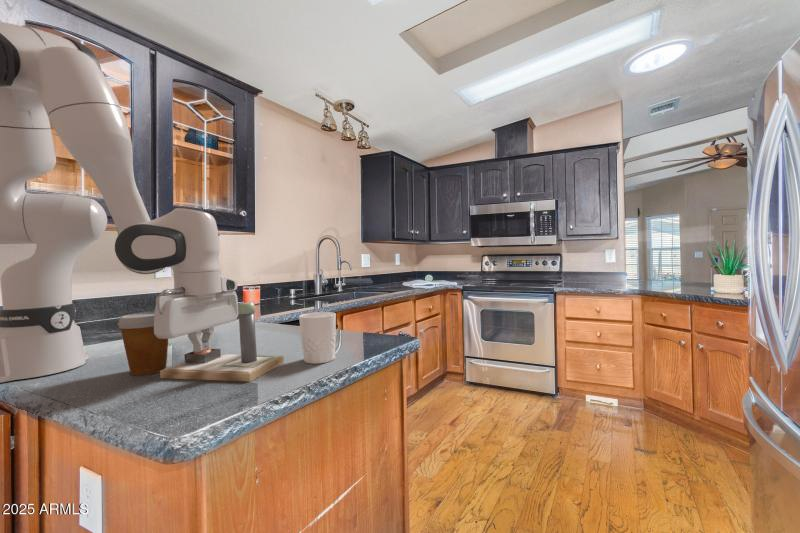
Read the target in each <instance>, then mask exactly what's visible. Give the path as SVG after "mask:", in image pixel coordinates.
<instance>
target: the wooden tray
mask: <svg viewBox="0 0 800 533" xmlns="http://www.w3.org/2000/svg"><path fill="white" fill-rule="evenodd" d="M210 349H211V352H208V353H206V354H194V350H193V351H190V352H188V353H187V352H186V353H184V361H182V362H179V363H176V364H173V365H170V366H168V367H166V368H165V369H163V370H160V372H159V376H160V379H173V380H174V379H176V380H199V381H200V380H203V381H223V382H224V381H225V382H252V381H254V380H256V379H258V378H259V377H262V376H263V375H265V374H267V373H268V372H270V371H272V370H273V369H275V368H277V367H279V366H281V365H282V364H284V363H285V359H284V358H285V356H284V355H278V354H277V355H275V354H274V355H270V354H267V355H266V354H257V361H255V362H252V363H242V362H241V354H229V353H228V354H226V353H225V354H222V353H221V348H210ZM266 372H267V373H266ZM257 377H258V378H257Z"/></svg>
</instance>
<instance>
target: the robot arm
mask: <svg viewBox="0 0 800 533" xmlns="http://www.w3.org/2000/svg"><path fill="white" fill-rule="evenodd" d="M51 127H53V130H54V131H55V133H56V134H57V136H58V138H59V139H60V141H61V142H62V144H63V146H64V147H65V148H66V150H67V151H68V153H69V154H70V155H71V157H73V159H74V160H75V162H76V163H77V164H78V165H79V166H80V167H81V169H82V170H84V172H85V173H86V174H87V176H88V177H89V178H90V179H91V180H92V182H93V183H94V185H95V186H96V188H97V189H98V191H99V192H100V194H101V195H102V198H103V200H104V201H103V202H104V203H105V205H106V207H107V210H108V211H109V214H110V216H111V218H112V220H113V222H114V225H115V227H116V232H117V237H116V239H115V242H114V252H115V255H116V257H117V259H118V260H119V262H120V264H122V266H124V268H126V269H127V270H129V271H131V272H133V273H136V274H140V275H153V274H157V273H159V272H161V271H163V270H164V269H165V268H171V269H172V270H173V271H172V272H173V288H172V289H168V288H167V289H164V290H161V293H159V294H158V296H156V298H155V307H154V312H155V315H154V334H155V335H156V337H157V338H159V339H168V340H169V339H176V338H178V337H179V338H180V337H182V336H186V335H187V337H188V339H189V340H190V342H191V344H192V346H193V351H194V352H202V351H204V350H207V349H211V348H212V347H211V340H212V337H213V336H214V333H215V329H214V328H215V327H218V326H222V325H225V324H229V323H232V322H235V321H237V319H238V318H239V314H238V304H239V301H238V300H239V298H238V295H237V292H236V291H237V289H238V282H237V281H236V280H235V279H231V278H229V277H226V276H224V275H222V269H221V266H220V262H219V255H220V252H221V250H220V237H219V236H220V235H219V229H218V226H217V221H216V219H215V217H214V216H213V215H212V214H211V213H209V212H208V211H205V210H202V209H198V208H194V207H193V208H192V207H182V206H181V207H175V208H174V209H173V210H172V211H169V212H168V213H167V214H164V215H161V216H160V217H157V218H154V219H151V218H150V216H149V214H148V211H147V209H146V206H145V204H144V200H143V198H142V196H141V195H140V192H139V189H138V186H137V184H136V179H135V173H134V157H133V155H134V154H133V152H134V151H133V144H132V143H133V142H132V136H131V134H130V128H129V126H128V122H127V119H126V116H125V114H124V111H123V109H122V107H121V104H120V103H119V100H118V98H117V96H116V94H115V93H114V89H113V88H112V86H111V85H110V83H109V81H108V79H107V78H106V76H105V75H104V73H103V72H102V67H101V65H100V62H99V59H98V58H97V56H96V54H95V53H94V51H92V49H91V48H89V47H88V46H86V45H84V44H83V43H81V42H80V41H77V40H75V39H72V38H70V37H68V36H67V37H66V36H60V35H58V34H54V33H52V32H48V31H45V30H42V29H38V28H35V27H31V26H27V25H18V24H15V23H9V22H2V21H0V245H23V244H24V245H26V244H27V245H28V244H30V245H31V244H34V245H36V249H35V251H34V253H33V254H32V255H31V256H30V257H28V258H25V259H23V260H21V261H18V262H16V263H13V264H12V265H9V266H8V267H7V268H6V269H5V270H3V272H2V274H1V275H0V290H1V291H0V292H1V301H2V304H1V305H2V309H0V384H1V383H6V382H11V381H17V380H24V379H32V378H38V377H39V378H40V377H44V376H48V375H53V374H58V373H62V372H65V371H69V370H72V369H75V368H78V367H81V366H83V365H84V364H86V363H87V360H88V359H90V354H89V353H85V352H86V351H85V348H84V342H83V338H82V337H83V336H82V332H81V327H80V326H79V325H78V324H76V322H75V319H76V318H77V314H76V313H77V309H76V305H75V303H73V294H72V292H73V291H72V282H73V281H72V280H73V279H72V278H73V277H72V276H73V270H74V267H75V263H76V261H77V259H78V258H79V256H80V255H81V253H83V251H84V250H85V248H87V247H88V246H89V245H90V244H92V243H93V242H96V241H97V240H98V239H99V238H101V236H102V235H103V234H104V233H105V231H106V229H107V226H108V216H107V213H106V211H105V208H104V207H103V206H102V205H101V204H100V203H99V202H98V201H97V200H96V199H93V198H89V197H84V196H80V195H73V194H66V193H65V194H62V193H61V194H59V193H58V194H57V193H56V194H55V193H31V192H27V191H26V188H25V187H26V186H25V185H26V182H27V181H30V180H34V179H36V178H39V177H42V176H43V175H44V176H45V175H46V174H48V173H51V171H53V169H54V168H55V167H56V164H57V157H56V151H55V145H54V138H53V133H52V128H51Z"/></svg>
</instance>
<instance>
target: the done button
mask: <svg viewBox="0 0 800 533" xmlns="http://www.w3.org/2000/svg"><path fill="white" fill-rule="evenodd" d="M211 349H212V348H210V349H207V350H204V351H202V352H194V354H206V353H208V352H211Z"/></svg>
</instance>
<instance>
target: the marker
mask: <svg viewBox="0 0 800 533" xmlns="http://www.w3.org/2000/svg"><path fill="white" fill-rule="evenodd" d="M255 309H256V304H255V301H254V302H253V301H250V302H249V301H248V302H246V301H245V302H240V303H239V302H238V323H239V325H238V326H239V328H238V329H239V344H240V346H239V347H240V355H241V362H242V363H252V362H255V361H257V355H258V354H257V353H258V352H257V336H256V317H255V313H256V310H255Z"/></svg>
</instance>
